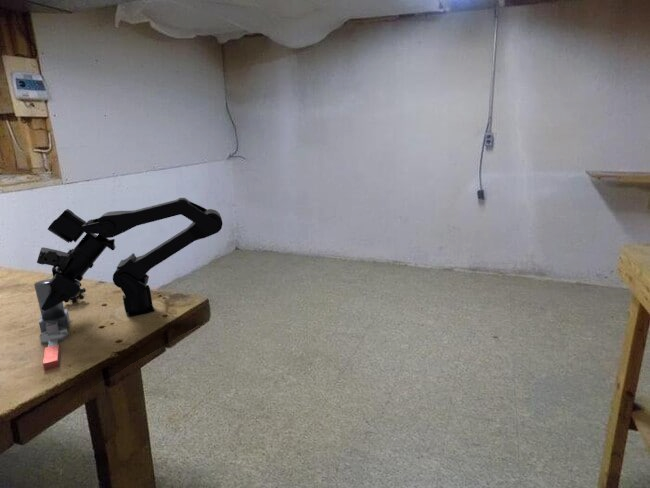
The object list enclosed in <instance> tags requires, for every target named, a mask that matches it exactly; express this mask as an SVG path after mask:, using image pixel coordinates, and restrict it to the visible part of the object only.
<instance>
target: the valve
mask: <svg viewBox="0 0 650 488" xmlns="http://www.w3.org/2000/svg"><path fill="white" fill-rule="evenodd" d="M75 280H77V279H75ZM77 281H78V280H77ZM79 283H80V292H79V293H78V294H77V296H76V297H73V298H69V299H67V300H65V301H63V303H68V302H69V301H72V303H73V304H77V302H78V299H79V300H83V299H85V296H84V293H85V292H86V291H87V290H86V288H85V287H83V288H81V287H82V282H81V281H79ZM82 293H83V294H82Z"/></svg>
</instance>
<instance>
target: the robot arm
mask: <svg viewBox="0 0 650 488" xmlns="http://www.w3.org/2000/svg"><path fill="white" fill-rule="evenodd" d="M180 215H181V216H183V217H185V218H187V219H188V220H190V221H191V222H192V223H190V224H189V225H188V226H187V227H186V228H185V229H183V230H181V231H180V232H178V233H176V234H175V235H173V236H172V237H170V238H169V239H167V240H165V241H164V242H162V243H161V244H159V245H158V246H156V247H154V248H153V249H150V251H148V252H146V253H145V254H142V255H139V256H137V255H135V253H131V254H130V255H129V256H128V257H127V258H125V259H121V260H120V262H119V263H118V265H117V266H116V269H115V271H114V272H113V275H112V282H113V284H114V286H116V287H117V288H119V289H120V290H121V291H122V294H124V295H122V301H123V307H124V312H125V313H126V314H127V316H128V317H133V316H138V315H139V316H140V315H143V314H148V313H151V312H154V311H155V308H154V305H153V300H152V292H151V288H150V285H148V282H149V278H150V276H149V275H148V273H149V271H151V269H153V268H155V267H156V266H157V265H160V264H161V263H163V262H164V261H165V260H168V258H170V257H172V256H173V255H175V254H176V253H178V252H179V251H181V250H183V249H184V248H186V247H188V246H189V245H191V244H192V243H194V242H195V241H198V240H203V239H206V238H208V237H211V236H213V235H215V234H218V233H219V232H220V231H221V230H222V228H223V218H222V215H221V214H220V213H219V211H217V210H216V209H210V208H209V209H207V208H206V207H203V206H201V205H199V204H197V203H194V202H193V201H191V200H189V199H187V198H186V197H179V198H177V199H174V200H170V201H167V202H163V203H158V204H154V205H150V206H146V207H143V208H138V209H135V210H134V209H133V210H116V211H115V210H114V211H107V212H105V213H103V214H102V215H101V216H100V217H97V218H93V219H89V220H87V221H85V220H84V219H83V218H81V217H80V216H78V215H77V214H75V213H74V212H73V211H72V210H70V208H67V209H65V210H64V211H63V212H62V213H61V214H59V216H58V217H57V218H56V219H54V220H53V221H52V222H51V224H50V225H49V226H48V227H47V230H48V232H50V233H52V234H54V235H55V236H57V237H58V238H60V239H61V240H63V241H64V242H66V243H67V244H70V243H72V242H74V243H77V242H78V240H79V239H80V238H81V237H82V236H83V234H84V233H85V235H84V236H83V237H82V238H81V240H80V241H79V242H78V243H77V245H76V246H75V247H74V248H71V249H69V250H68V252H64V251H61V250H57V249H53V248H48V247H41V248H40V251H39V253H38V256H37V260H36V263H37V264H39V265H47V266H52V268H51V273H52V276H53V277H52V278H51V279H52V280H51V281H50V288H51V291H50V293H49V295H48V297H47V298H46V300H45V302H44V304H43V306H42V307H41V309H42V310H44V311H46V310H48V309H50V308H52V307H54V306H56V305H57V304H59V303H61V302H63V303H64V301H65V300H67V299H69V298H73V297H77V296H78V295H79V292H80V288H81V287H80V283H81V281H82V280H83V278H84V275H85V274H86V273H87V272H88V270H90V269H92V268H93V266H94V263H95V262H96V261H97V260H98V258H99V257H100V256H101V254H102V253H103V252H104V251H105V249H107V248H108V249H109V250H111V251H115V249H116V245H115V244H116V243H115V242H116V239H115V238H114V237H116V236H118V235H121V234H123V233H126V232H127V231H129V230H131V229H133V228H135V227H138V226H141V225H142V226H143V225H145V224H149V223H152V222H157V221H160V220H165V219H168V218H172V217H177V216H180ZM110 238H111V239H110ZM75 279H77V280H78V281H77V280H75ZM79 281H80V283H79Z"/></svg>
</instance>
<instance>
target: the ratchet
mask: <svg viewBox="0 0 650 488" xmlns="http://www.w3.org/2000/svg"><path fill="white" fill-rule="evenodd" d="M46 330H47V331H45V332H43V333H41V332H40V334H39V339H40V343H41V344H42V345H47V347H45V348H44V353H43V361H42V365H43V369H44V370H43V371H49V370H54V369H57V368H59V367H60V360H61V359H60V358H61V357H60V356H61V355H60V354H61V350H60V345H59V344H60V342H63V341H64V340H66V339H68V337H69V332H68V328H63V327H59V328H58V323H57V321H53V322H48V323H46Z"/></svg>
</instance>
